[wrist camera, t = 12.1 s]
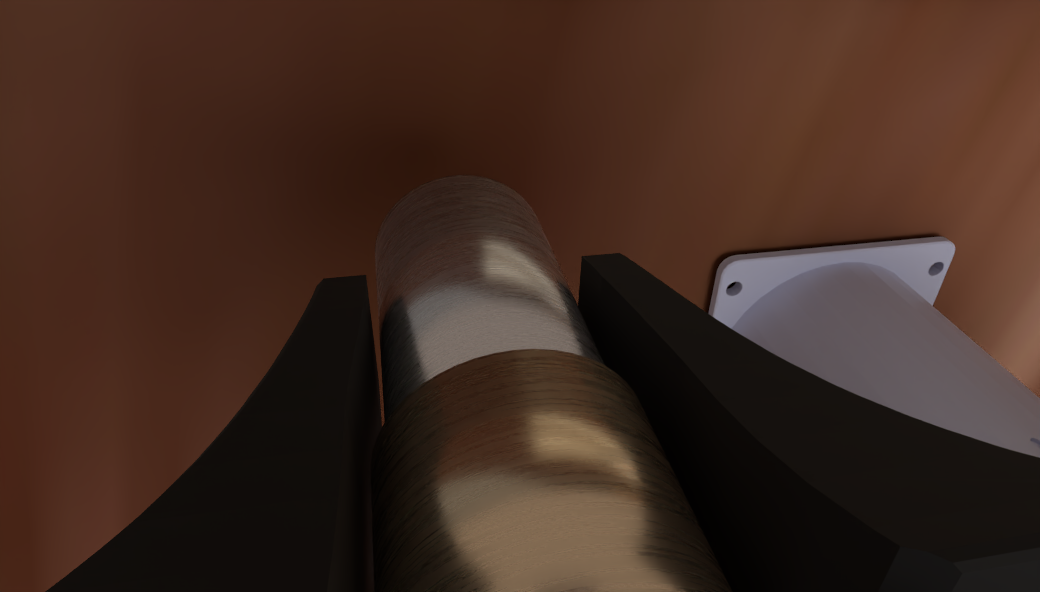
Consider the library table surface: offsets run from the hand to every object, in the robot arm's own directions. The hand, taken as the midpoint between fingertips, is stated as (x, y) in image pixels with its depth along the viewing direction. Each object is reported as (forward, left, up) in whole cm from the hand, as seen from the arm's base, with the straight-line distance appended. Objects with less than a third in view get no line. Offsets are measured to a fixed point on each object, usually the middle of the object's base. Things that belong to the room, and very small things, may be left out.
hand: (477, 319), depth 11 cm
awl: (0, 0, -2) cm, 2 cm away
